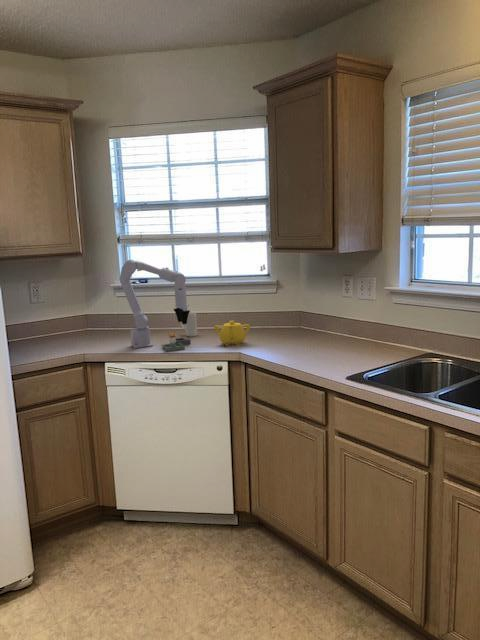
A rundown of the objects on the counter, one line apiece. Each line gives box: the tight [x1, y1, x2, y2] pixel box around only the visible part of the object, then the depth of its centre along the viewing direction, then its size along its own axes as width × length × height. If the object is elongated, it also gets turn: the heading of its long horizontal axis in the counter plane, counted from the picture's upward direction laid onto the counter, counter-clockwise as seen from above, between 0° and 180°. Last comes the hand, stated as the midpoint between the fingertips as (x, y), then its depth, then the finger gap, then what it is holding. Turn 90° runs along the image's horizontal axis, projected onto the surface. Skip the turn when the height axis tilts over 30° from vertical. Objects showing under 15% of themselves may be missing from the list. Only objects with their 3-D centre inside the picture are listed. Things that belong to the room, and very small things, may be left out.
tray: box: [161, 343, 186, 353], centre depth 269 cm, size 9×9×2 cm
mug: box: [179, 312, 198, 337], centre depth 300 cm, size 10×7×12 cm, turn 63°
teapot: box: [214, 320, 251, 347], centre depth 273 cm, size 14×14×12 cm
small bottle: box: [168, 332, 176, 348], centre depth 268 cm, size 3×3×7 cm
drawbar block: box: [175, 336, 192, 346], centre depth 279 cm, size 9×7×2 cm
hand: (182, 322), depth 280 cm, fingers open, 7 cm apart
